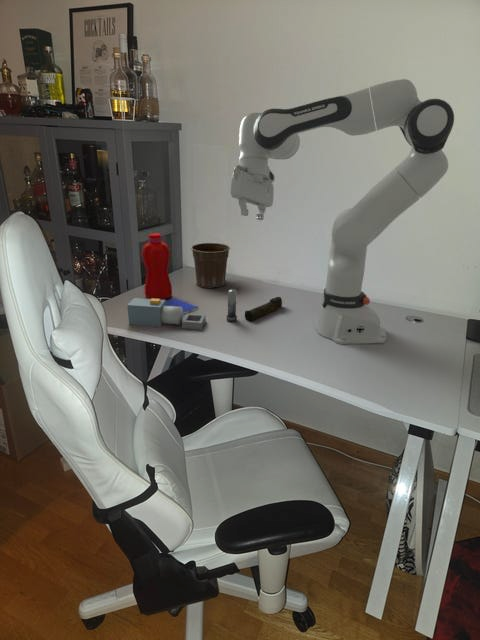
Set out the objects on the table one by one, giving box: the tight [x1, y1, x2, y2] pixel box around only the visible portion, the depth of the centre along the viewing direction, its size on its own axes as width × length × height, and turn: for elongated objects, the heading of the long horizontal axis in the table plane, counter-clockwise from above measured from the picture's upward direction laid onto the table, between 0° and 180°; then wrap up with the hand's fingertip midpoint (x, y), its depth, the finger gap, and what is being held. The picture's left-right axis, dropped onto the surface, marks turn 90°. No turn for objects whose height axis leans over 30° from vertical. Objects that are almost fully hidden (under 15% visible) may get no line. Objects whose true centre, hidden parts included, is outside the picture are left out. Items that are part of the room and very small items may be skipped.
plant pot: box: [190, 242, 231, 289], centre depth 173 cm, size 16×16×16 cm
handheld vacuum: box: [126, 297, 207, 331], centre depth 137 cm, size 25×7×8 cm, turn 83°
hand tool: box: [244, 296, 283, 322], centre depth 147 cm, size 19×4×5 cm, turn 135°
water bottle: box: [141, 232, 173, 301], centre depth 156 cm, size 9×11×25 cm
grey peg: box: [226, 288, 238, 323], centre depth 140 cm, size 4×4×11 cm
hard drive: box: [165, 297, 199, 316], centre depth 151 cm, size 2×8×12 cm
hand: (252, 217), depth 125 cm, fingers open, 8 cm apart
